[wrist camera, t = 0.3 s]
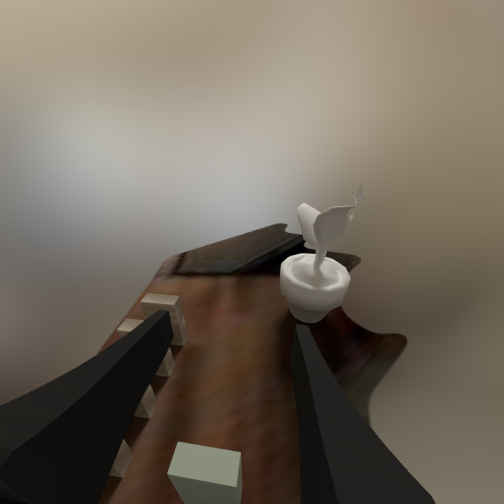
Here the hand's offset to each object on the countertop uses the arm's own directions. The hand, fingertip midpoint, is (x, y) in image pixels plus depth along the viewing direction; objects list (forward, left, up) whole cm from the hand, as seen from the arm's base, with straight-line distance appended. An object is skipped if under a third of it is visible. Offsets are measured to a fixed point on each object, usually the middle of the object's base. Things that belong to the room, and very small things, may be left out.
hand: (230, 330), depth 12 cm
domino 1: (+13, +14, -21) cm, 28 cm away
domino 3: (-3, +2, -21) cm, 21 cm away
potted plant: (+23, -9, -21) cm, 32 cm away
